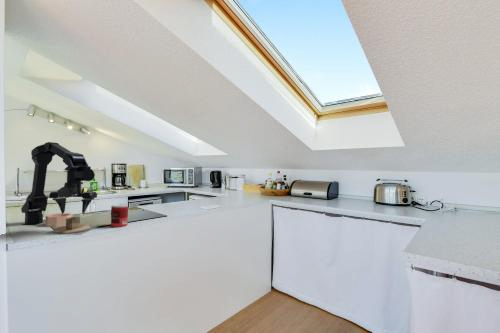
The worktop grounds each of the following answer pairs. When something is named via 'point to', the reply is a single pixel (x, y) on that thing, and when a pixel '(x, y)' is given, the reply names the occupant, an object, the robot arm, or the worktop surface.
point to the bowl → (57, 219)
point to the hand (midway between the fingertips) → (73, 213)
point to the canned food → (119, 215)
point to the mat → (71, 233)
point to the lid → (72, 226)
